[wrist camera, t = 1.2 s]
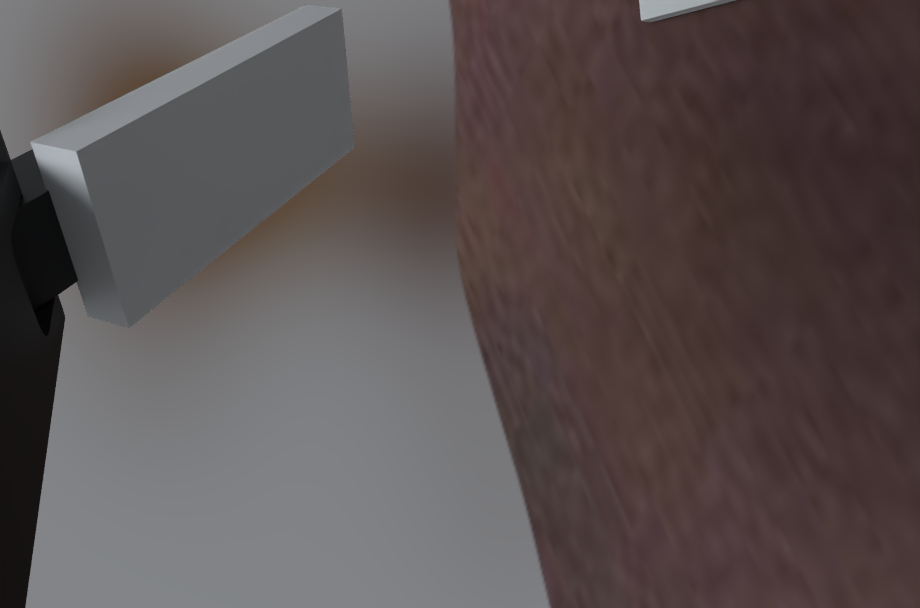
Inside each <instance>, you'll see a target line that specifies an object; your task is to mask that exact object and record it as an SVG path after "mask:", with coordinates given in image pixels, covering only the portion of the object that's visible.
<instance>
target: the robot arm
mask: <svg viewBox="0 0 920 608" xmlns="http://www.w3.org/2000/svg"><path fill="white" fill-rule="evenodd" d="M31 146H32V150H30V151H28V152H26V153H24V154H22V155H20V156H18V157H16V158H14V159H12V160H11V159H10V157H9V154H8V151H7V148H6V145H5V142H4V140H3V137H2V134H1V131H0V608H25V605H26V597H27V591H28V590H27V589H28V582H29V576H30V569H31V561H32V554H33V547H34V540H35V533H36V525H37V518H38V510H39V503H40V496H41V489H42V482H43V474H44V467H45V460H46V453H47V445H48V438H49V430H50V424H51V417H52V409H53V402H54V395H55V387H56V380H57V373H58V366H59V358H60V351H61V344H62V337H63V329H64V322H65V315H64V312H63V308H62V305H61V302H60V299H59V296H58V294H60V293H61V292H62V291H64V290H65V289H67V288H68V287H70V286H71V285H73V284H74V283H75V282H77V284H78V287H79V290H80V293H81V296H82V299H83V303H84V305H85V308H86V311H87V315H88V316H89V317H92V318H95V319H99V320H102V321H106V322H110V323H113V324H116V325H120V326H123V327H127V328H130V327H131V326H133V325H134V324H135V323H136V322H137V321H139V320H140V319H141V318H142V317H144V316H145V315H146V314H147V313H149V312H150V311H151V310H152V309H154V308H155V307H156V306H157V305H158V304H160V303H161V302H162V301H163V300H165V299H166V298H167V297H169V296H170V295H171V294H172V293H173V292H175V291H176V290H177V289H179V288H180V287H181V286H182V285H184V284H185V283H186V282H187V281H189V280H190V279H191V278H192V277H194V276H195V275H196V274H197V273H199V272H200V271H201V270H202V269H203V268H205V267H206V266H207V265H209V264H210V263H211V262H212V261H213V260H215V259H216V258H217V257H218V256H220V255H221V254H222V253H223V252H224V251H226V250H227V249H228V248H230V247H231V246H232V245H233V244H235V243H236V242H237V241H238V240H240V239H241V238H242V237H243V236H245V235H246V234H247V233H248V232H250V231H251V230H252V229H253V228H255V227H256V226H257V225H258V224H260V223H261V222H262V221H263V220H264V219H266V218H267V217H268V216H270V215H271V214H272V213H273V212H274V211H276V210H277V209H278V208H280V207H281V206H282V205H283V204H285V203H286V202H287V201H288V200H290V198H292V197H293V196H294V195H296V194H297V193H298V192H299V191H300V190H302V189H303V188H304V187H306V186H307V185H308V184H309V183H311V182H312V181H313V180H314V179H316V178H317V177H318V176H319V175H321V174H322V173H323V172H324V171H326V170H327V169H328V168H329V167H331V166H332V165H333V164H334V163H335V162H337V161H338V160H339V159H341V158H342V157H343V156H344V155H346V154H347V153H348V152H349V151H351V150H352V149H353V148H354V147H355V145H354V135H353V124H352V113H351V102H350V92H349V81H348V71H347V59H346V49H345V38H344V28H343V17H342V9H340V8H331V7H322V6H313V5H304V6H302V7H300V8H298V9H296V10H294V11H292V12H290V13H288V14H286V15H285V16H283V17H281V18H278V19H276V20H274V21H272V22H270V23H268V24H266V25H264V26H262V27H260V28H258V29H256V30H254V31H252V32H250V33H248V34H246V35H244V36H243V37H240V38H238V39H236V40H234V41H232V42H230V43H228V44H226V45H224V46H222V47H220V48H219V49H216V50H214V51H212V52H210V53H208V54H206V55H204V56H202V57H200V58H198V59H196V60H194V61H192V62H190V63H188V64H186V65H184V66H182V67H180V68H178V69H176V70H174V71H172V72H170V73H168V74H166V75H164V76H162V77H160V78H158V79H156V80H154V81H152V82H150V83H148V84H146V85H144V86H142V87H140V88H138V89H136V90H134V91H132V92H130V93H128V94H126V95H124V96H122V97H120V98H118V99H116V100H114V101H112V102H110V103H108V104H106V105H104V106H102V107H100V108H98V109H96V110H94V111H92V112H90V113H88V114H86V115H84V116H82V117H80V118H78V119H76V120H74V121H72V122H70V123H68V124H66V125H64V126H62V127H60V128H58V129H56V130H54V131H52V132H50V133H48V134H46V135H44V136H42V137H40V138H38V139H36V140H34V141H32V142H31Z"/></svg>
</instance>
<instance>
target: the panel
mask: <svg viewBox="0 0 920 608" xmlns="http://www.w3.org/2000/svg"><path fill="white" fill-rule="evenodd" d="M732 1H736V0H639V4H640V14H641V21H646V22H654V21H658V20H662V19H666V18H670V17H674V16H678V15H682V14H686V13H689V12H693V11H697V10H701V9H705V8H709V7H713V6H717V5H720V4H724V3H728V2H732Z"/></svg>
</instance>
